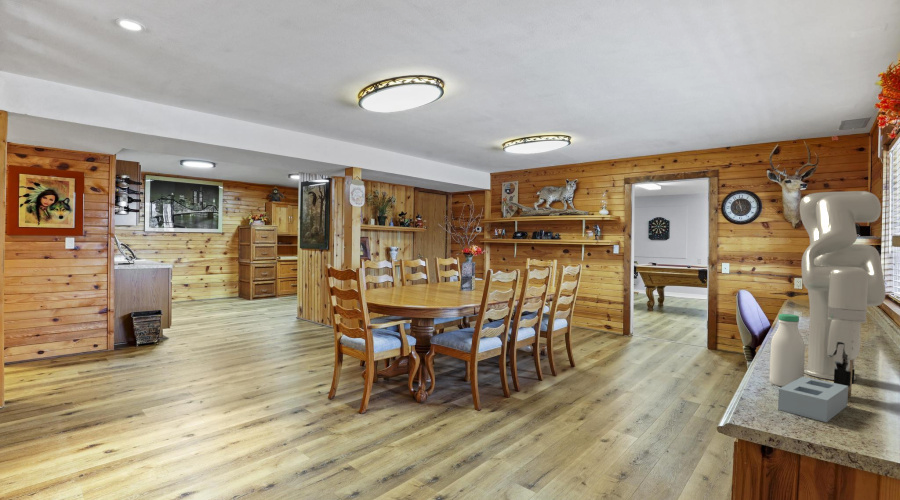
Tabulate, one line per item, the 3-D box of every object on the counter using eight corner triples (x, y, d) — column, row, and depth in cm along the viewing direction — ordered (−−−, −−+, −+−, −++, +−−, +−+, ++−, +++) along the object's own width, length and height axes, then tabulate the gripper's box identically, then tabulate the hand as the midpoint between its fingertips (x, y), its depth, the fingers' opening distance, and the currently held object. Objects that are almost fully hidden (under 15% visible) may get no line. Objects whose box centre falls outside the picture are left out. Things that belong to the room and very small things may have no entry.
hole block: (802, 395, 116) (802, 376, 115) (847, 406, 108) (848, 385, 108) (777, 409, 105) (778, 388, 105) (826, 422, 98) (827, 400, 98)
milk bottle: (809, 390, 120) (812, 317, 119) (778, 388, 121) (780, 316, 121) (793, 381, 127) (796, 313, 127) (763, 379, 129) (766, 311, 128)
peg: (837, 392, 118) (839, 355, 118) (852, 395, 116) (854, 358, 115) (834, 394, 116) (836, 357, 116) (849, 398, 114) (851, 360, 114)
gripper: (836, 310, 123) (834, 375, 124) (819, 315, 114) (816, 385, 114) (873, 314, 117) (870, 382, 118) (858, 320, 108) (855, 394, 108)
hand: (843, 383), depth 116 cm, fingers closed on peg, 3 cm apart
